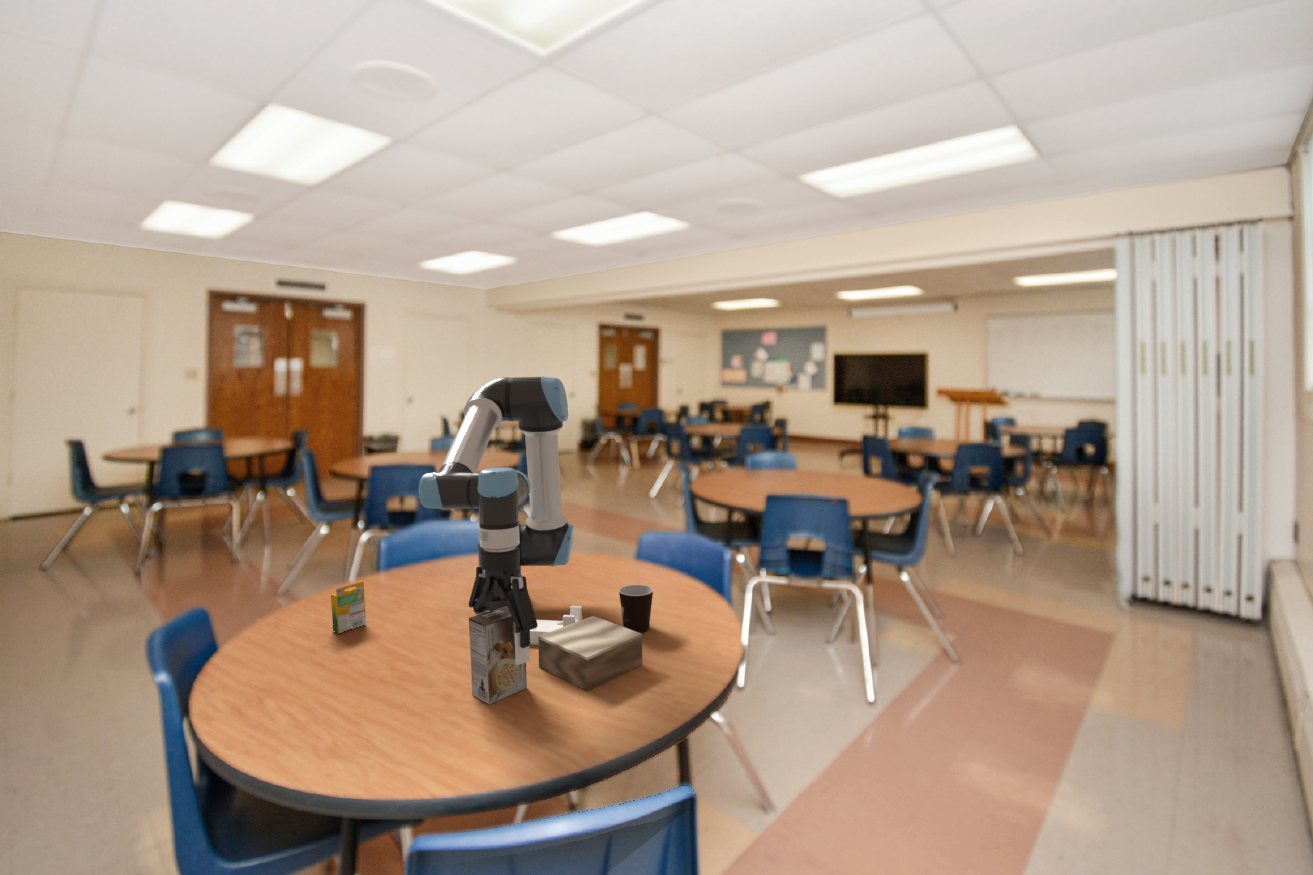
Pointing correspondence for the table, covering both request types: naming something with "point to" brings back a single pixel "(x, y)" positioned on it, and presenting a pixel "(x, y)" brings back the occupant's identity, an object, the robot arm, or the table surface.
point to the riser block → (590, 652)
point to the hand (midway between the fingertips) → (502, 652)
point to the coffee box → (494, 656)
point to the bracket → (555, 624)
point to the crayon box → (348, 608)
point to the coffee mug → (636, 607)
